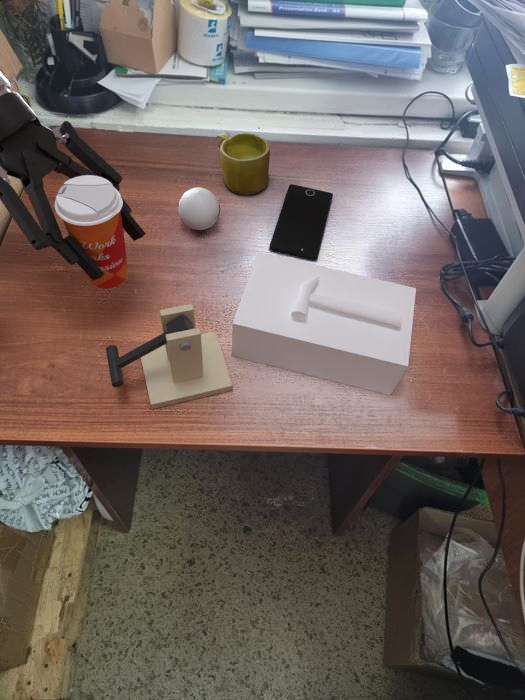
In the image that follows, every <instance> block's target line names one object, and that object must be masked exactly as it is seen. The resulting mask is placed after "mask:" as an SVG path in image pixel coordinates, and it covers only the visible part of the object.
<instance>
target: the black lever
mask: <svg viewBox="0 0 525 700" xmlns="http://www.w3.org/2000/svg"><path fill="white" fill-rule="evenodd" d="M166 328H167V331H166V332H164V333H163V332H162V333H161V334H158V335H157V336H156V337H154V338H152V339H150V340H148V341H146V342H145V343H143V344H141V345H139V346H138V347H135V348H134V349H132V350H130V351H128V352H126V353H125V354H123V355H121V356H120V355H119V349H118V346H117V345H115V344H111V345H108V346H106V348H105V353H106V359H107V365H108V370H109V371H108V372H109V377H110V382H111V387H113V388H120V387H122V386H124V384H125V383H124V377H123V371H122V369H123V368H124V367H127V366H128V365H130V364H132V363H134V362H136V361H138V360H139V359H141V357H143V356H145V355H147V354H148V353H150V352H152V351H154V350H156V349H158V348H159V347H161V346H163V345H165V344H167V341H166V334H171V333H176V332H180V331H185V330H190V329H194V326H193V322H192V321H190V320H189V319H188V318H187V317H185V316H184V315H181V316H180V317H178V318H176V319H174V320H173V321H171V322H169V323H167V324H166Z"/></svg>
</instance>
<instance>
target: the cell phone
mask: <svg viewBox="0 0 525 700" xmlns="http://www.w3.org/2000/svg"><path fill="white" fill-rule="evenodd" d="M333 196H334V193H332V192H329V191H326V190H321V189H316V188H312V187H307V186H302V185H298V184H294V183H292V184H291V183H290V184H289V185H288V187H287V190H286V194H285V197H284V200H283V203H282V206H281V209H280V212H279V215H278V218H277V221H276V224H275V228H274V230H273V233H272V237H271V239H270V240H271V241H270V242H269V247H268V249H269V251H271V252H274V253H278V254H282V255H287V256H290V257H295V258H300V259H304V260H308V261H312V262H313V261H314V262H315V261H317V260H318V258H319V254H320V249H321V245H322V242H323V238H324V234H325V229H326V227H327V226H326V225H327V223H328V217H329V215H330V214H329V213H330V211H331V205H332V201H333Z"/></svg>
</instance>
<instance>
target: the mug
mask: <svg viewBox="0 0 525 700" xmlns="http://www.w3.org/2000/svg"><path fill="white" fill-rule="evenodd" d="M216 143H217V146H218V148H219V160H220V166H221V171H222V175H223V181H224V183H225V185H226V186H227V188H229V189H228V190H231V191H232V192H234V193H235V194H238V195H243V196H246V195H254V194H257V193H259V192H261V191H263V190H264V189H265V187H267V185H268V183H269V179H270V174H269V170H270V159H271V158H270V157H271V146H270V144H269V142H268V141H267V140H266V139H265V138H264V137H263V136H260V135H258V134H256V133H251V132H241V133H237V134H234V135H232V136H231V134H230V133H229V132H227V131H223V132H221V133H219V134H217V135H216Z"/></svg>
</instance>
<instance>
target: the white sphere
mask: <svg viewBox="0 0 525 700" xmlns="http://www.w3.org/2000/svg"><path fill="white" fill-rule="evenodd" d="M177 210H178V214H179V217H180V220H181V221H182V222H183V224H184V225H186V226H187V227H188V228H189V229H193V230H197V231H202V230H203V231H204V230H206V229H209V228H211V227H212V226H213V225H214V224H215V223H216V222H217V220H218V218H219V217H220V213H221V205H220V203H219V200H218V198H217V196H215V194H214V193H213V192H212V191H211V190H209V189H207V188H204V187H193V188H190V189H188V190H186V191H185V192H184V193H183V194H182V196H181V197H180V199H179V202H178V209H177Z"/></svg>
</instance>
